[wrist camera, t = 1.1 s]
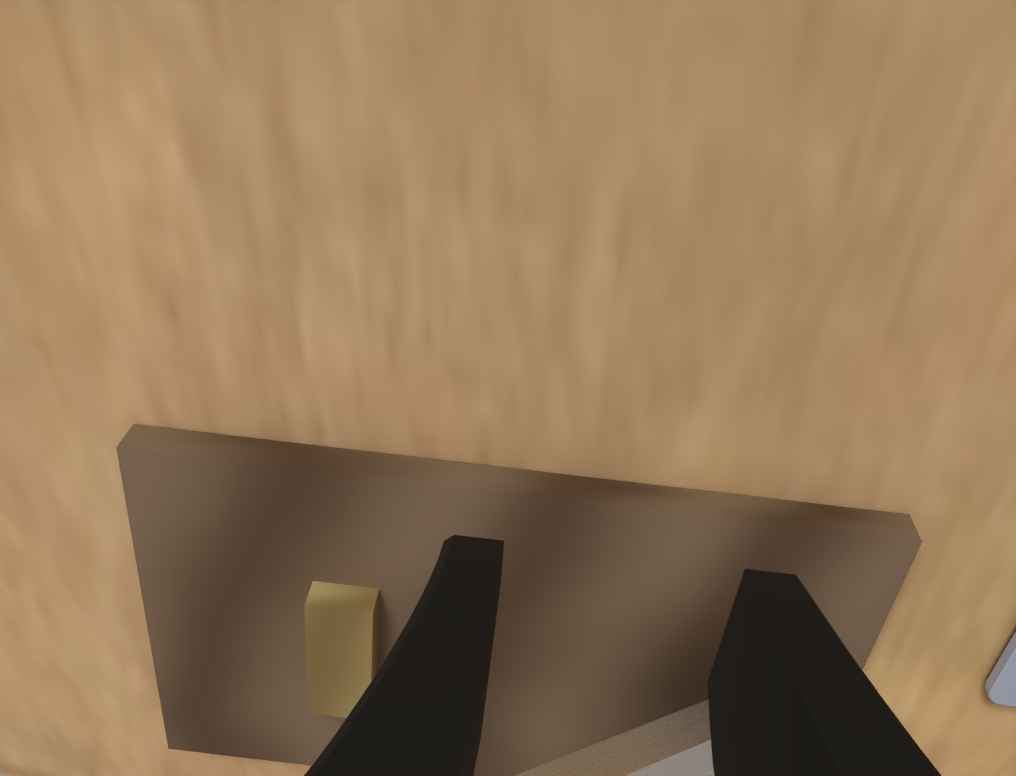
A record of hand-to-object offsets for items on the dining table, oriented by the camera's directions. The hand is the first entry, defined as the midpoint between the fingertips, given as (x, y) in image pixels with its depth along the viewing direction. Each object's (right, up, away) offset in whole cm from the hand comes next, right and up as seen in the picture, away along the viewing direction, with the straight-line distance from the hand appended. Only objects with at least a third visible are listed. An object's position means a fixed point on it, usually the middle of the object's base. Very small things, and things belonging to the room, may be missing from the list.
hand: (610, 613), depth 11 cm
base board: (-2, -4, +15) cm, 16 cm away
